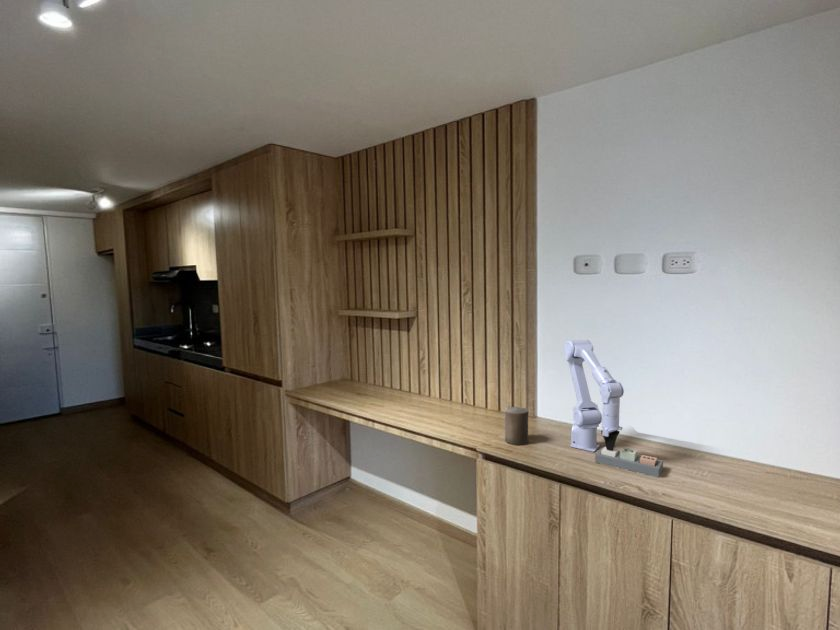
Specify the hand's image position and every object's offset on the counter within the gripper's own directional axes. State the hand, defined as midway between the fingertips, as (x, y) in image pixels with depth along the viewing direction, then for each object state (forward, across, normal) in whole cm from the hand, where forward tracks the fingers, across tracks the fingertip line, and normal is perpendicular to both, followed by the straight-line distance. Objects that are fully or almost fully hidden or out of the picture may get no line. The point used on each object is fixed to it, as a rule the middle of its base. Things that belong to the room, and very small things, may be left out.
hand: (609, 449), depth 162 cm
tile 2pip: (+3, 0, -7) cm, 7 cm away
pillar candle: (+5, -2, +37) cm, 37 cm away
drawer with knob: (+4, 0, 0) cm, 4 cm away
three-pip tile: (+4, 0, -13) cm, 14 cm away
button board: (+4, 0, -6) cm, 8 cm away
